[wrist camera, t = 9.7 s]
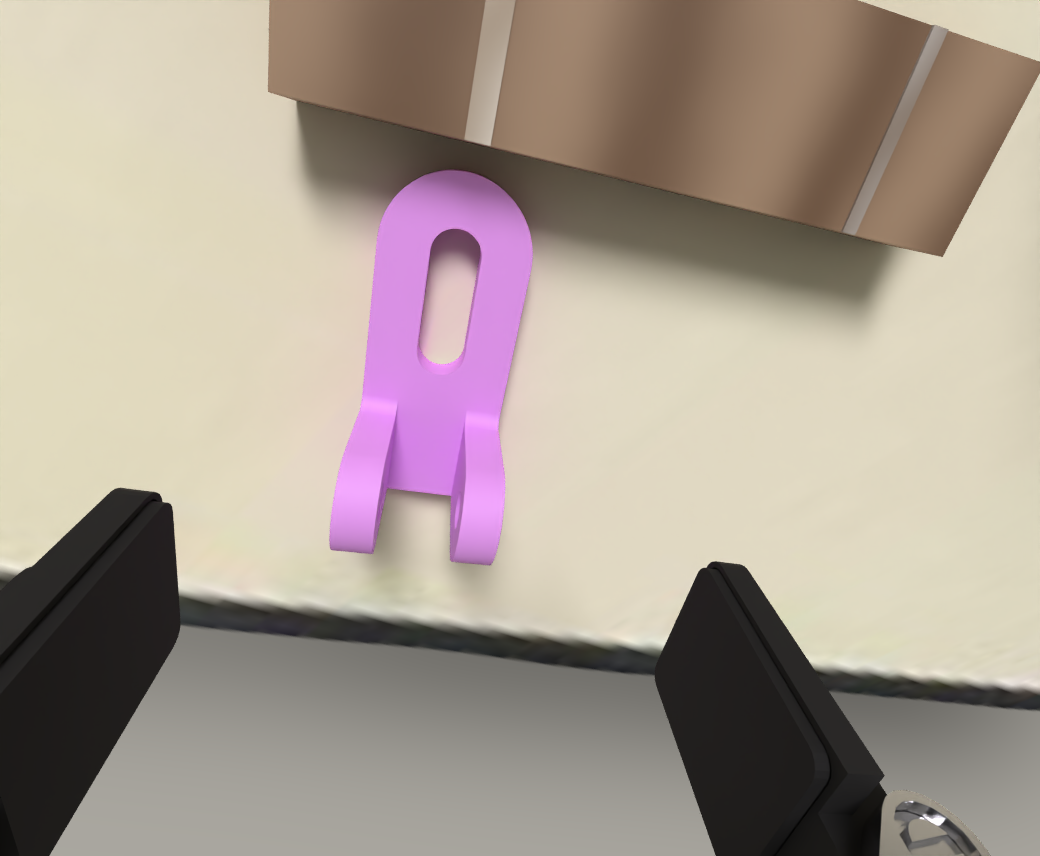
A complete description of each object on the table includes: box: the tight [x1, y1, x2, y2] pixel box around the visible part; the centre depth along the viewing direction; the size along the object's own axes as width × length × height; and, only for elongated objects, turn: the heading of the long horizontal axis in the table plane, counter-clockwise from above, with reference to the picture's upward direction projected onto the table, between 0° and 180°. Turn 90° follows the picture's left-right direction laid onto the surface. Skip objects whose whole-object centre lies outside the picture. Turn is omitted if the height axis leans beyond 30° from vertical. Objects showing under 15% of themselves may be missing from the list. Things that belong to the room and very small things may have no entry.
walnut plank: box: [268, 0, 1040, 257], centre depth 18 cm, size 23×6×3 cm, turn 78°
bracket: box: [330, 169, 533, 565], centre depth 20 cm, size 13×6×7 cm, turn 168°
